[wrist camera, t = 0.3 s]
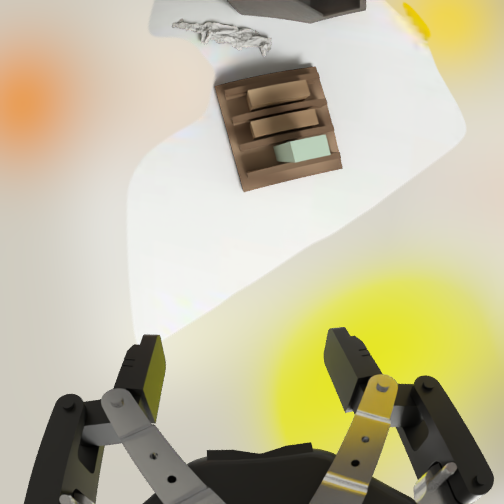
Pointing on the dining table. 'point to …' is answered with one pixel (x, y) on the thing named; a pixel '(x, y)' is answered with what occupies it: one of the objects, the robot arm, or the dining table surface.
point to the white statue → (228, 35)
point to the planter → (298, 8)
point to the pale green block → (302, 149)
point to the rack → (261, 149)
